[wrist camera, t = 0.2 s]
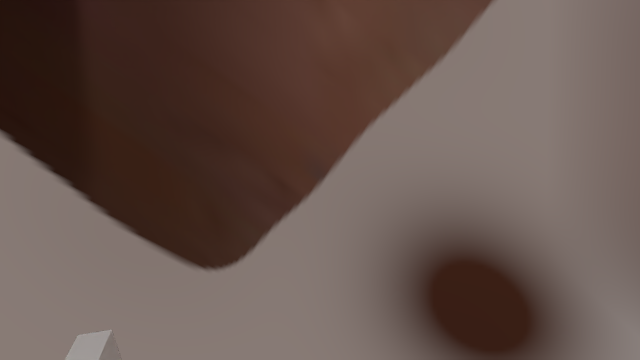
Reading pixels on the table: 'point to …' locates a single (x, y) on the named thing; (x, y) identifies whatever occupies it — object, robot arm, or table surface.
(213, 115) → the table surface
